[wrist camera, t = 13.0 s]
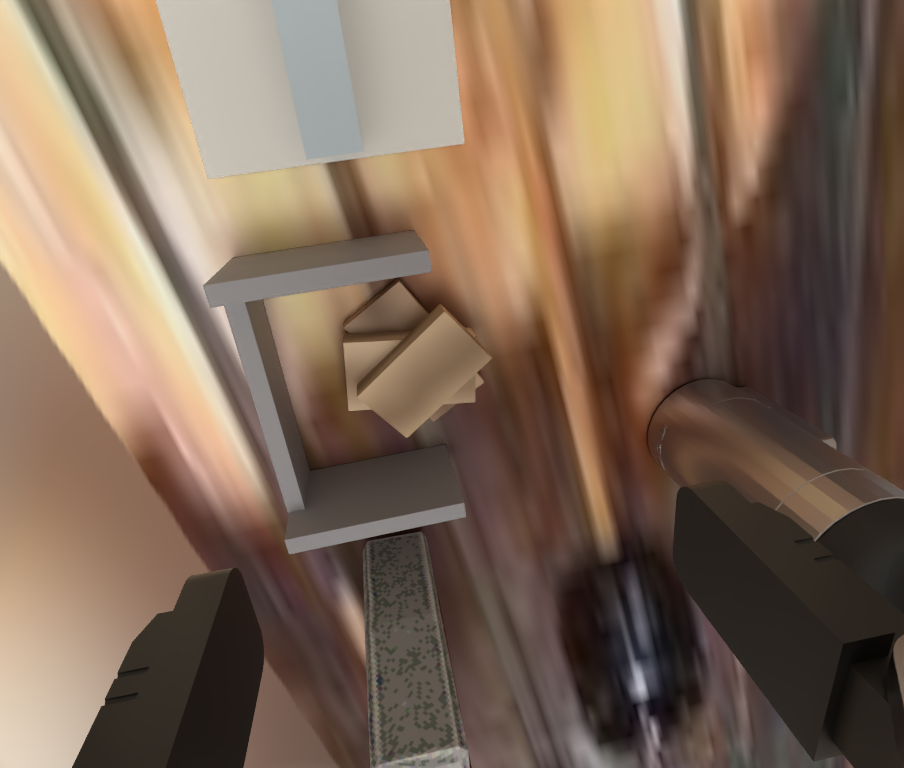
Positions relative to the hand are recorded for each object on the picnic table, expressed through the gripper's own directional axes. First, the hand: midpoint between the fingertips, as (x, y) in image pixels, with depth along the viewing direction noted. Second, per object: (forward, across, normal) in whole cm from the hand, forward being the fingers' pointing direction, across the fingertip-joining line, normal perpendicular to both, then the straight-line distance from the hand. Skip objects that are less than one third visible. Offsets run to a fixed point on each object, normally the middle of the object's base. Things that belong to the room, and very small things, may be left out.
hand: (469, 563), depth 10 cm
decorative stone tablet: (+31, +4, +36) cm, 48 cm away
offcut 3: (+27, -1, +7) cm, 28 cm away
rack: (+30, +4, +7) cm, 31 cm away
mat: (+30, +2, -14) cm, 33 cm away
